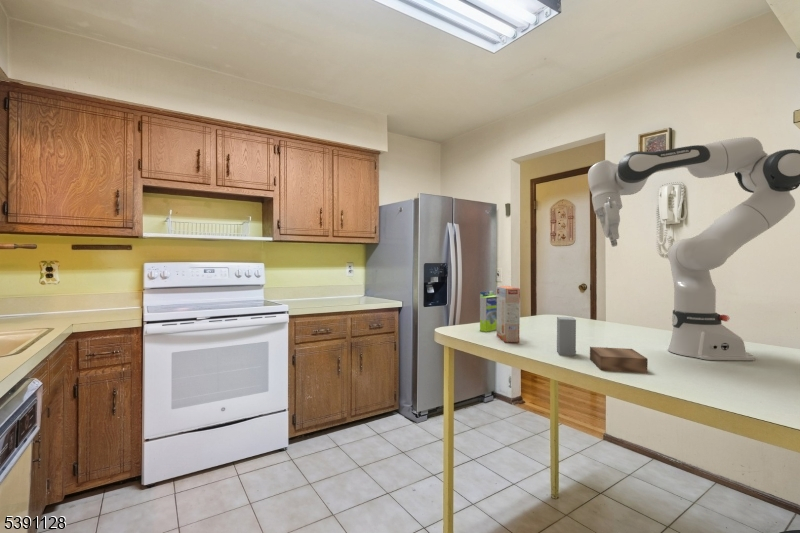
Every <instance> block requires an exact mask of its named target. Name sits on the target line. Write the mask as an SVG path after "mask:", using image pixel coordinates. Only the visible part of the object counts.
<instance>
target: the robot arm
mask: <svg viewBox="0 0 800 533" xmlns="http://www.w3.org/2000/svg"><path fill="white" fill-rule="evenodd" d="M680 168H686V169H687V171H688V172H689V173H690V174H691V175H692V176H693V177H695V178H698V179H706V178H715V177H719V176H725V175H727V174H732V173H734V176H735V178H736V179H737V183H738V185H739V187H741V189H742V190H743V191H745V192H747V193H751V195H750V197H748V198H747V199H746V200H744V201H742V202H741V203H739V204H737V205H736V206H735V207H733V208H732V209H730V210H729V211H727V212H726V213H724V214H722V215H720V216H719V217H718V218H716V219H715V220H714V221H713V222H712V224H710V225H709V226H707V228H706V229H705V230H703V231H702V232H700V233H699V234H698V235H696V236H692V237H688V238H682V239H679V240H677V241H675V242H674V243H673V244H672V245H671V246H670V247H669V248H668V251H667V258H668V261H669V264H670V271H671V276H672V281H673V288H674V291H673V292H674V293H673V294H674V296H673V297H674V298H673V299H674V300H673V302H674V303H673V305H674V306H673V310H672V315H671V322H672V324H671V325H672V334H671V338H670V342H669V345H668V348H667V351H668V352H670V353H673V354H676V355H681V356H685V357H690V358H697V359H701V360H706V361H755V360H756V357H755V356H754V354H751V353H749V352H746V346H745V342H744V340H743V338H742V337H741V336H739V335H738V334H737V333H735V332H733V331H732V330H730V329H729V328H728V327H727V326H725V325H724V324H723V322H726V323H727V322H729V321H730V320H731V319H730V316H728V315H726V314H719V313H717V312H716V308H717V307H716V306H717V305H716V303H717V300H716V299H717V296H716V295H717V288H716V286H715V285H714V283H713V281H712V280H713V279H712V276H711V273H710V271H711V270H715V269H716V268H719V267H721V266H722V265H724V264H725V263H726V262H727V260H728V259H729V258H730V257H731V256H733V255H734V254H735V253H736V252H737V251H738V250H740V248H741V247H743V246H745V244H747V243H749V242H751V241H752V240H753V239H755V238H757V237H758V236H760V235H762V234H763V233H764V232H766V231H768V230H769V229H772V227H774V226H775V225H777V224H779V222H781V221H782V220H784V218H786V217H787V216H789V214H790V213H791V212H792V211H793V210H794V208H795V206H796V201H795V197H794V196H793V195H792V194H791V191H794V190H796V189H798V188H799V187H800V150H799V149H792V148H791V149H790V148H789V149H782V150H781V149H780V150H777V151H775V152H773V153H770V154H768V152H765V150H764V146H763V144H762V142H761V141H760V140H759V139H758V138H756V137H753V136H747V137H746V136H745V137H736V138H735V137H734V138H729V139H723V140H719V141H715V142H714V141H713V142H709V143H705V144H701V145H700V144H698V145H696V144H694V145H689V146H688V145H687V146H681V147H676V148H671V149H665V150H664V149H663V150H659V151H658V150H657V151H639V150H637V151H631V152H629V153H627V154H626V155H623V157H622V158H621V159H620V160H619V162H618V164H617V163H615V162H612V161H611V160H608V159H607V160H606V159H604V160H600V161H597V162H596V163H595V164H593V165H592V166H590V168H589V169H588V172H587V182H588V188H589V191H590V192H591V195H592V196H591V203H592V206H593V211H594V214H595V215H596V217H597V219H598V220H599V221H600V225H601V228H602V231H603V233H604V236H605V238H609V242H610V245H611V247H617V246H618V240H619V239H620V233H619V226H620V222H621V217H620V210H621V209H622V208H623V203H622V199H621V196H628V195H630V196H631V195H635V194H637V193H639V192H640V191H641V190H642V189H644V187H645V184H646V183H647V181H648V179H649V178H650V177H651V176H652V175H654V174H655V173H658V172H661V171H662V172H663V171H668V170H675V169H680ZM722 321H723V322H722Z"/></svg>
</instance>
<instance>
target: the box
mask: <svg viewBox="0 0 800 533" xmlns="http://www.w3.org/2000/svg"><path fill="white" fill-rule="evenodd" d="M493 331H497V294H496V295H494V290H489V291H488V290H487V291H479V332H485V333H487V332H493Z"/></svg>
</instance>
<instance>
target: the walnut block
mask: <svg viewBox="0 0 800 533" xmlns="http://www.w3.org/2000/svg"><path fill="white" fill-rule="evenodd" d="M589 360H590V361H591V362H592V363H593V364H594V365H595V366H596V367H597V368H598V369H599V371H607V372H626V373H627V372H628V373H642V374H648V358H647V357H646V356H644V355H643V354H641V353H639V352H638V351H637V350H634V349H633V348H623V347H621V348H620V347H600V346H599V347H598V346H589Z"/></svg>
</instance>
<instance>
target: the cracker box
mask: <svg viewBox="0 0 800 533" xmlns="http://www.w3.org/2000/svg"><path fill="white" fill-rule="evenodd" d="M496 296H497V330H496V332H495V333H496V337H498V338H499V339H501V340H502V341H503V342H504V343H516V344H517V343H520V327H521V325H520V323H521V322H520V321H521V320H520V316H521V314H520V312H521V310H520V309H521V308H520V307H521V289H520V288H519V287H515V286H510V285H497V286H496Z"/></svg>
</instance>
